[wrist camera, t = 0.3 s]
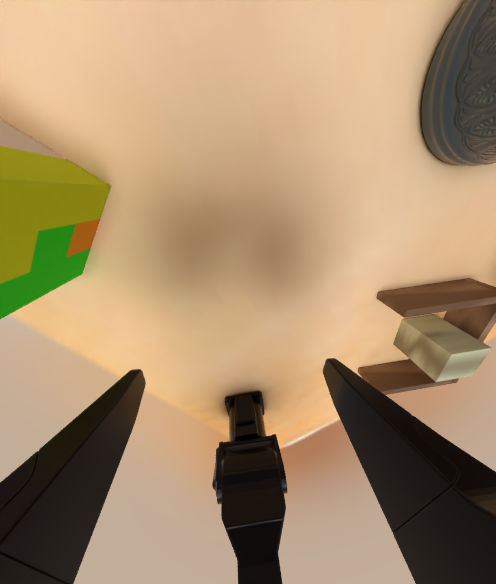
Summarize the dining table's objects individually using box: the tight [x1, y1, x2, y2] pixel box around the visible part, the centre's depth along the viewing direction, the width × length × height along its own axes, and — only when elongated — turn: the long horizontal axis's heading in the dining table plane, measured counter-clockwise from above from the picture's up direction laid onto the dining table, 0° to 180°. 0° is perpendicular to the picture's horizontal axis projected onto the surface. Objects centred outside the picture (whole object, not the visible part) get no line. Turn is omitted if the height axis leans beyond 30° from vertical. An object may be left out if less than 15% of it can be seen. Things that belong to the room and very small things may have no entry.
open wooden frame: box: [358, 278, 496, 395], centre depth 27 cm, size 16×13×4 cm
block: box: [394, 314, 491, 382], centre depth 26 cm, size 5×5×7 cm
